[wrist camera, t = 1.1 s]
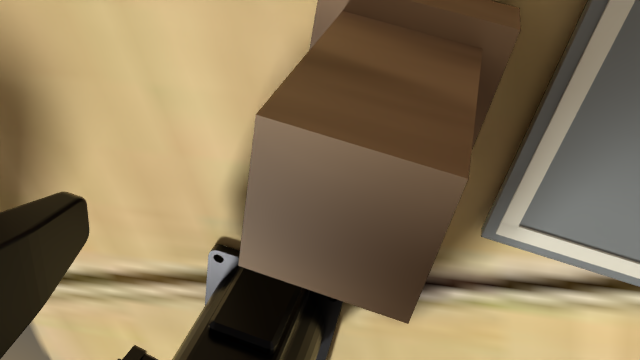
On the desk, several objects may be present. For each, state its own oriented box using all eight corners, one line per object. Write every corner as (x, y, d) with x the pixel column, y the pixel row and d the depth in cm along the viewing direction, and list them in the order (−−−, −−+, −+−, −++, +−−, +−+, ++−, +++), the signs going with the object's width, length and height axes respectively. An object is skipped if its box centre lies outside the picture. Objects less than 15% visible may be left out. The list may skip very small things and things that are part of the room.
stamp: (459, 155, 19) (431, 356, 12) (314, 111, 20) (206, 277, 13) (519, 4, 16) (527, 156, 9) (342, -42, 17) (221, 66, 10)
